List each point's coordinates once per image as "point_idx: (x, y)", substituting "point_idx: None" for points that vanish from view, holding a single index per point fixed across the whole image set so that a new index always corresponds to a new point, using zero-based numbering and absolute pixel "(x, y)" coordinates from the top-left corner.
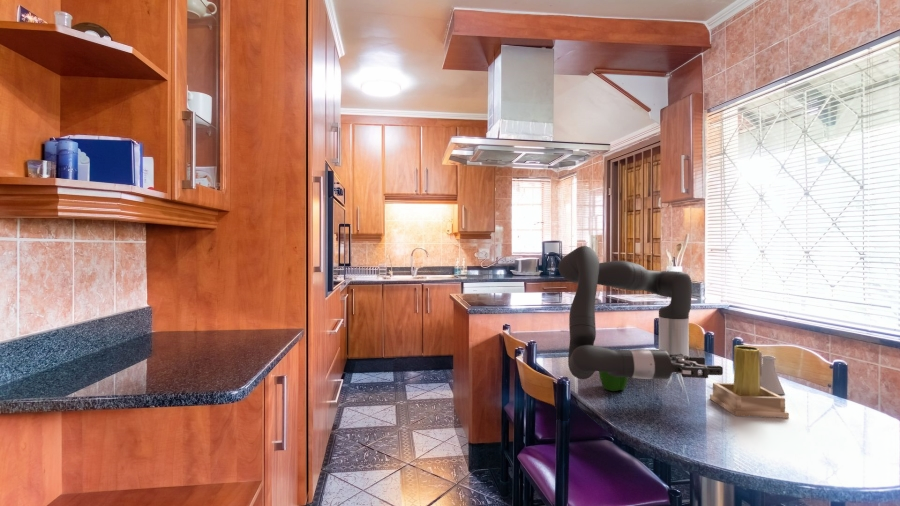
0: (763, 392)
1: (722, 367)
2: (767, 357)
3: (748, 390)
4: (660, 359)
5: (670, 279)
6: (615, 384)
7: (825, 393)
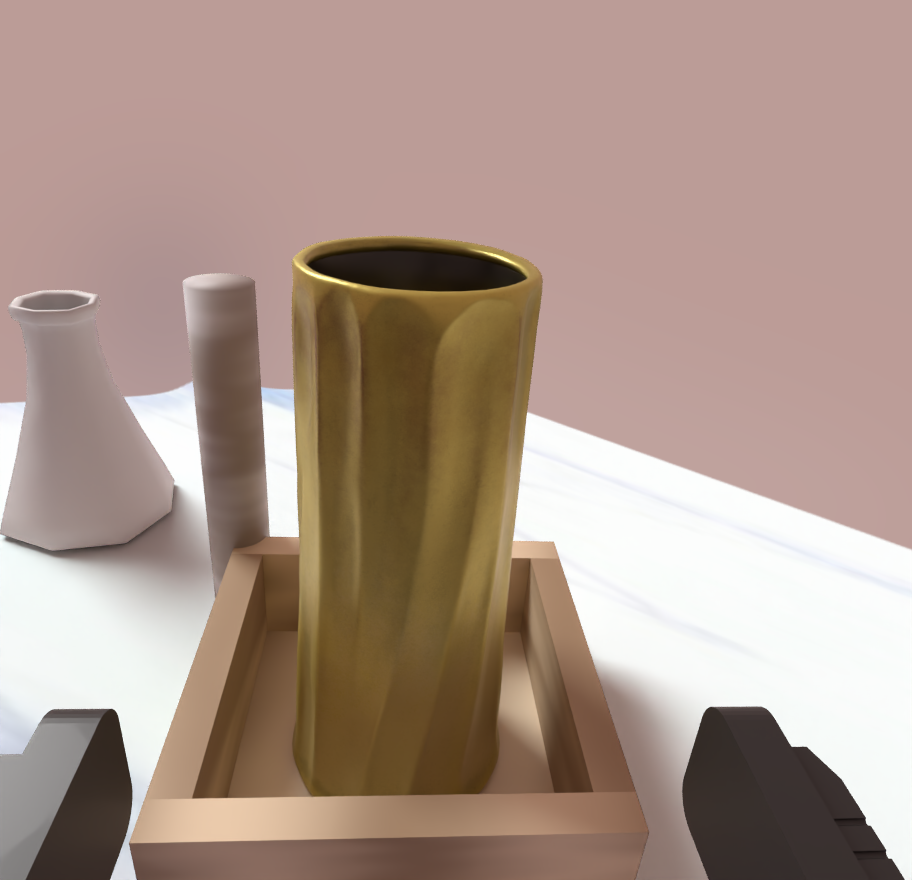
0: None
1: (752, 707)
2: (33, 307)
3: (497, 660)
4: None
5: None
6: None
7: (189, 387)
